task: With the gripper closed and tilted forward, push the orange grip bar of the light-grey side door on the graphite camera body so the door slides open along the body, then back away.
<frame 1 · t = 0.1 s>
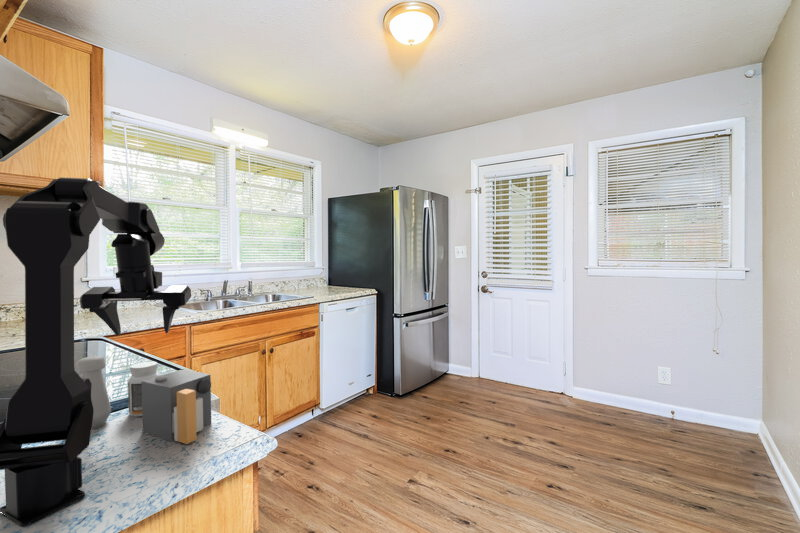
hand: (143, 333, 83), 15 cm above the worktop, tool pointing down, fingers open, 9 cm apart
pill bottle: (145, 412, 79), on the worktop
salt shaker: (92, 425, 73), on the worktop
side door: (193, 412, 68), point 5 cm above the worktop, slide at 0.0 cm
camera body: (177, 427, 72), on the worktop
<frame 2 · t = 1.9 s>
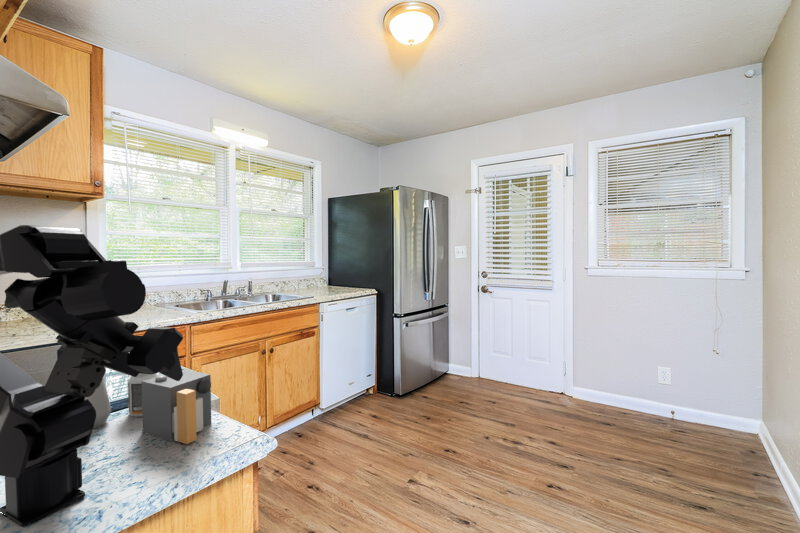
hand: (158, 376, 61), 13 cm above the worktop, tool tilted 45°, fingers open, 9 cm apart
nothing on the worktop moved.
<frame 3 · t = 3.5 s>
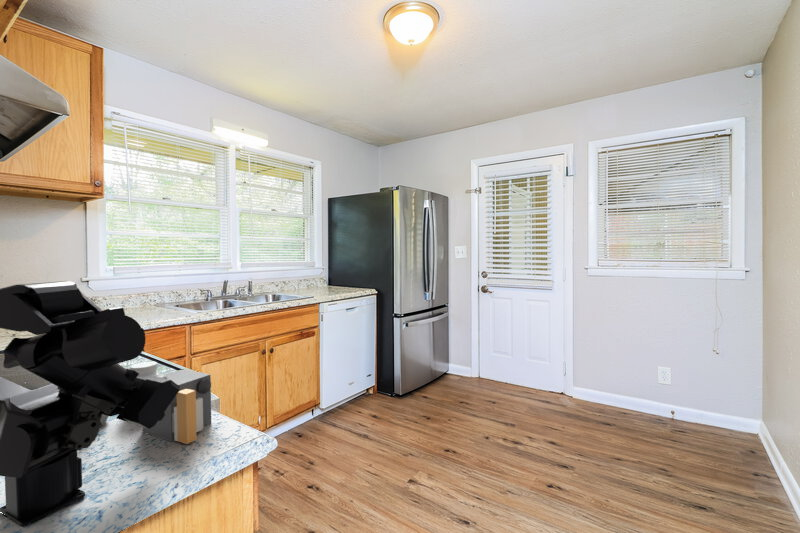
hand: (161, 417, 61), 7 cm above the worktop, tool tilted 45°, fingers closed
nothing on the worktop moved.
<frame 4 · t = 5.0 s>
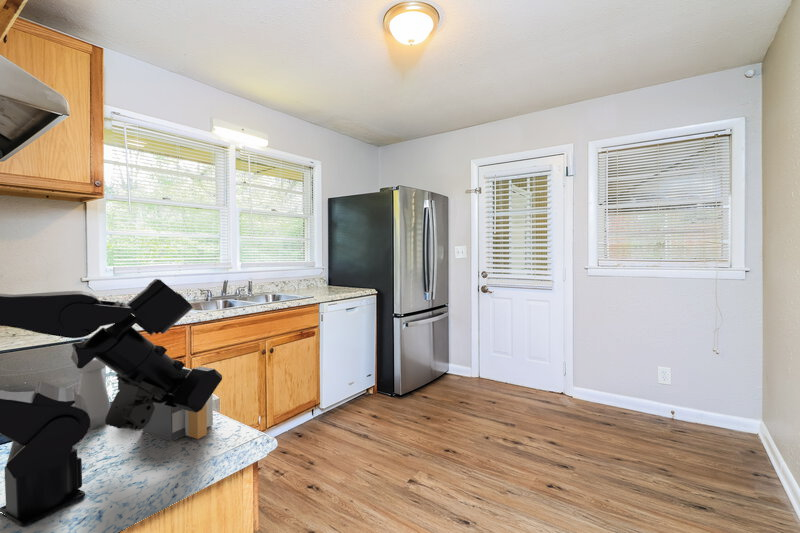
hand: (201, 407, 66), 6 cm above the worktop, tool tilted 45°, fingers closed
side door: (203, 407, 70), point 5 cm above the worktop, slide at 2.1 cm, touching gripper
everything else where it was.
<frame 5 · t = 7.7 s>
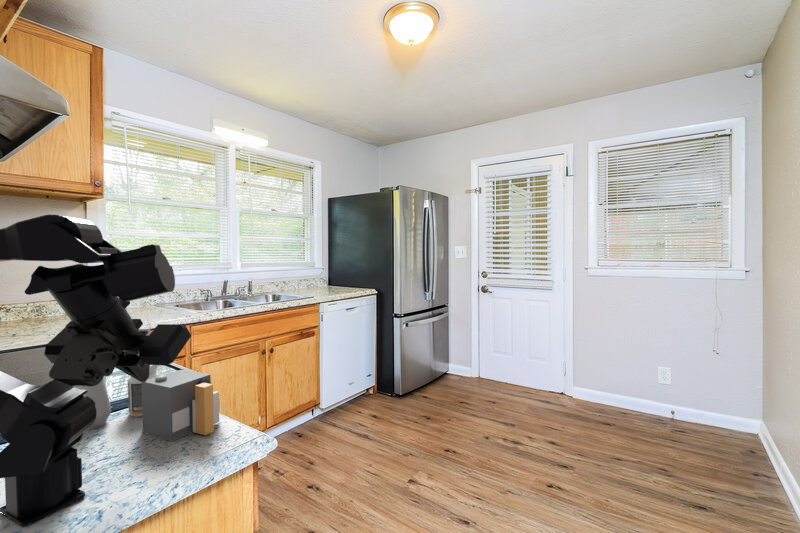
hand: (145, 379, 61), 13 cm above the worktop, tool tilted 35°, fingers closed
side door: (210, 404, 71), point 5 cm above the worktop, slide at 3.5 cm
everything else where it was.
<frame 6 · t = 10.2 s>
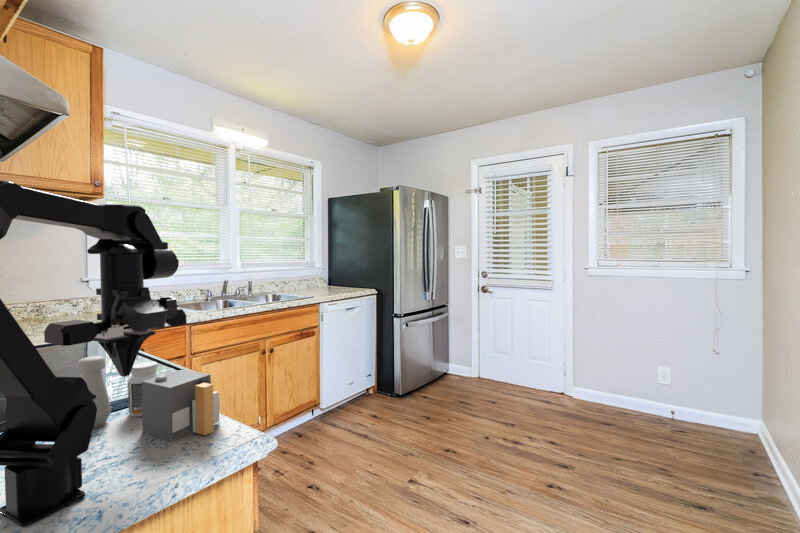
hand: (125, 375, 63), 12 cm above the worktop, tool pointing down, fingers closed
nothing on the worktop moved.
at the end: side door slide at 3.5 cm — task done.
